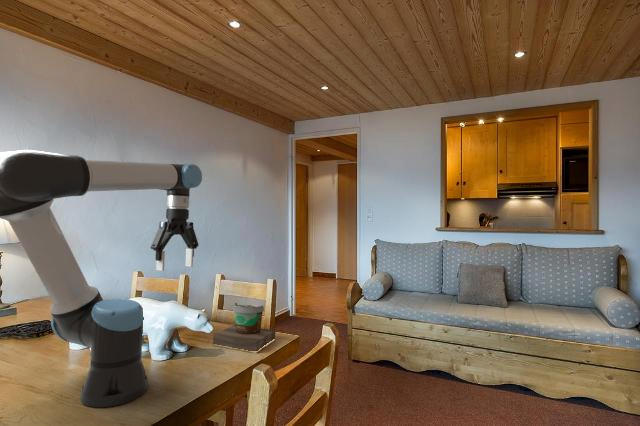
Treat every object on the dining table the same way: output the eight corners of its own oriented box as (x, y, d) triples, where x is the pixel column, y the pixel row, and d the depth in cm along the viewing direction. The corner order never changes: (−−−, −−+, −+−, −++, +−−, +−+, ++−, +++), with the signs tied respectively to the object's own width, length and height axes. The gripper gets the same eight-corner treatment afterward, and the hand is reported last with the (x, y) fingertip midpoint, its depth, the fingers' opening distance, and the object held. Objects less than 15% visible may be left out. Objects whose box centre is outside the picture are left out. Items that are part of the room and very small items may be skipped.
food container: (225, 333, 132) (226, 305, 132) (234, 328, 138) (235, 302, 138) (256, 337, 128) (256, 309, 128) (263, 332, 134) (264, 305, 134)
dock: (256, 353, 123) (256, 341, 123) (212, 345, 130) (213, 334, 130) (275, 340, 136) (275, 330, 136) (234, 334, 143) (235, 324, 143)
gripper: (157, 206, 114) (155, 273, 114) (209, 210, 137) (207, 265, 137) (140, 206, 117) (137, 271, 117) (194, 209, 140) (191, 264, 140)
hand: (175, 268), depth 127 cm, fingers open, 13 cm apart
